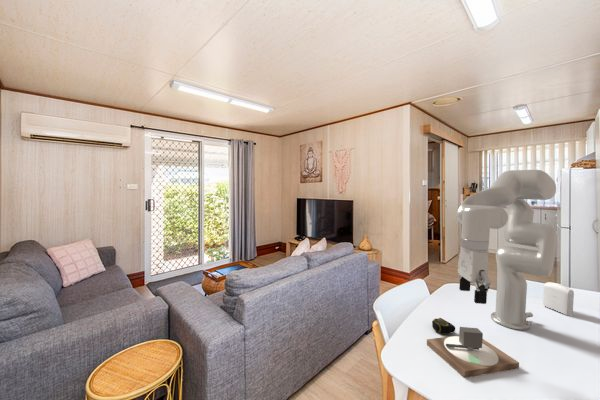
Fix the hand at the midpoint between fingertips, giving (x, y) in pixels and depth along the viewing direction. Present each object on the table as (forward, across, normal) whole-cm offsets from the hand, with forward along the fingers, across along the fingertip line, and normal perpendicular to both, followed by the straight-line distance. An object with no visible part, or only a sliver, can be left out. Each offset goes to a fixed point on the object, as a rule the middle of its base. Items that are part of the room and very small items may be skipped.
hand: (471, 296), depth 84 cm
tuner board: (+20, 0, 0) cm, 20 cm away
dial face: (+18, 0, 0) cm, 18 cm away
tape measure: (+21, -15, -2) cm, 26 cm away
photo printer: (+20, -41, +56) cm, 73 cm away
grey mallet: (+18, 0, -2) cm, 18 cm away
